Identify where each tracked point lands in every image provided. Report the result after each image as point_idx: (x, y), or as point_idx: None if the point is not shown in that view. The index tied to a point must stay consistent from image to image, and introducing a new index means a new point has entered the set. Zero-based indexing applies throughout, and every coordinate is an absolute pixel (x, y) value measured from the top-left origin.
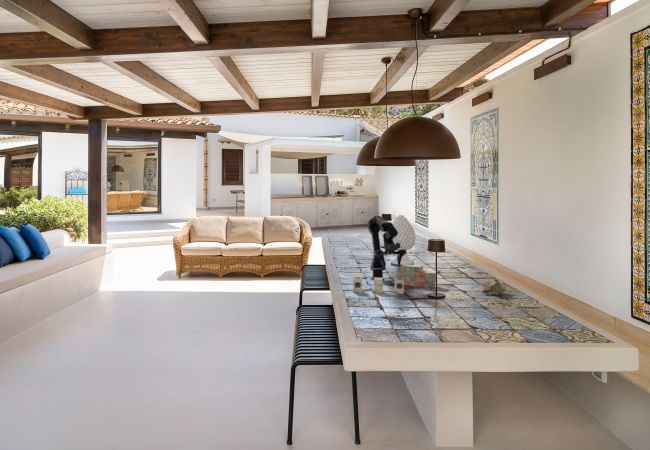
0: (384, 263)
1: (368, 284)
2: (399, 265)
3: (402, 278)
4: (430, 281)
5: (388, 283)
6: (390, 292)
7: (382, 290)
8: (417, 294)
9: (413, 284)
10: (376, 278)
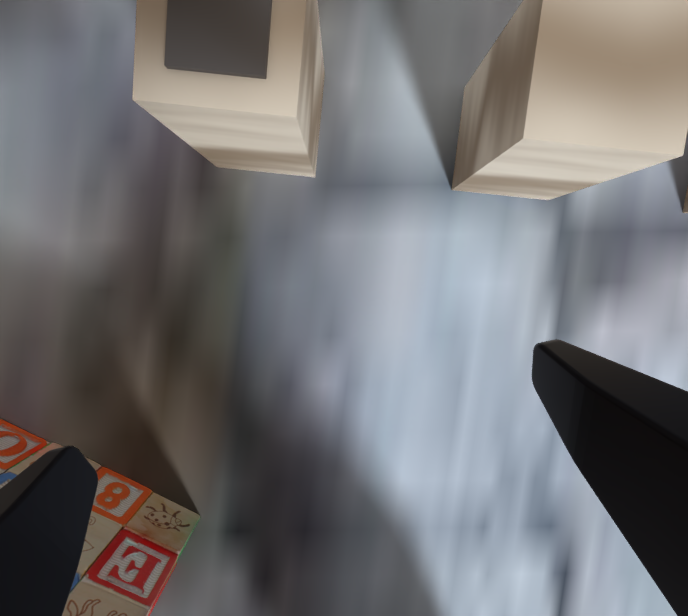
0: (638, 400)
1: (561, 519)
2: (40, 467)
3: (152, 79)
4: None
5: (332, 571)
6: (367, 126)
7: (477, 70)
8: (66, 28)
9: None
10: (652, 70)
